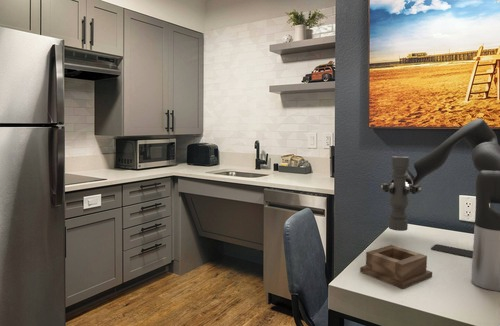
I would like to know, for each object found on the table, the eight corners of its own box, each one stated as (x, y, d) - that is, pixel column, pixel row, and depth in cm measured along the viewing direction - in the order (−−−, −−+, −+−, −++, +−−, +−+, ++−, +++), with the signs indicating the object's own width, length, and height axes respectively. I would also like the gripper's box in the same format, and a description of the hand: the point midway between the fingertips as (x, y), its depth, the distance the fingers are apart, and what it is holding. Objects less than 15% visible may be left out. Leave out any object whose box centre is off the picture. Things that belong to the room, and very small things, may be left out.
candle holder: (404, 226, 133) (407, 156, 130) (409, 231, 126) (412, 157, 124) (386, 225, 133) (388, 156, 131) (391, 230, 127) (393, 157, 124)
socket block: (431, 276, 114) (433, 256, 113) (402, 289, 105) (403, 266, 105) (389, 261, 126) (389, 243, 125) (360, 271, 118) (360, 251, 117)
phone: (436, 243, 144) (480, 252, 134) (435, 245, 144) (480, 254, 134) (430, 248, 138) (476, 257, 128) (430, 250, 138) (476, 260, 128)
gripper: (382, 173, 144) (377, 179, 128) (423, 175, 138) (422, 181, 122) (382, 192, 145) (376, 200, 129) (422, 195, 139) (421, 204, 123)
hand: (398, 191), depth 126 cm, fingers closed on candle holder, 4 cm apart
